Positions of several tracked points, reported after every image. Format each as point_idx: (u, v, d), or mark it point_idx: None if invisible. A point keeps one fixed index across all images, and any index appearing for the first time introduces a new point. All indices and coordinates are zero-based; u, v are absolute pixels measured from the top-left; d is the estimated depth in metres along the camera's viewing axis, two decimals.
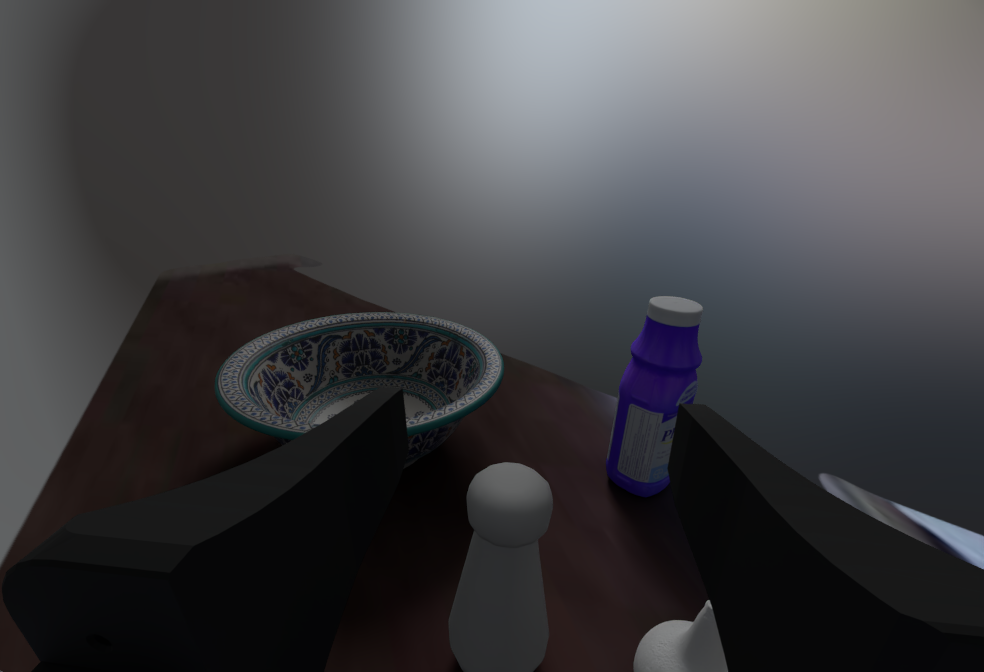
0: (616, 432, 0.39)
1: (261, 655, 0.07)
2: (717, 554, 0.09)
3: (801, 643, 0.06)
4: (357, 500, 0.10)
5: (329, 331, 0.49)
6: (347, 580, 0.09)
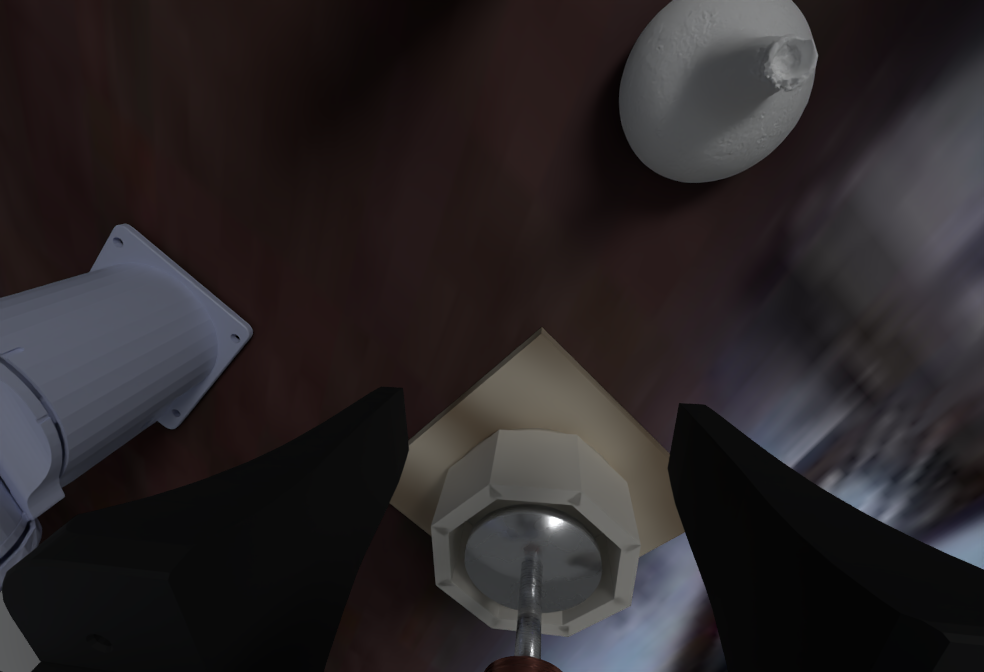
0: None
1: (261, 655, 0.07)
2: (717, 554, 0.09)
3: (801, 643, 0.06)
4: (357, 500, 0.10)
5: None
6: (347, 580, 0.09)
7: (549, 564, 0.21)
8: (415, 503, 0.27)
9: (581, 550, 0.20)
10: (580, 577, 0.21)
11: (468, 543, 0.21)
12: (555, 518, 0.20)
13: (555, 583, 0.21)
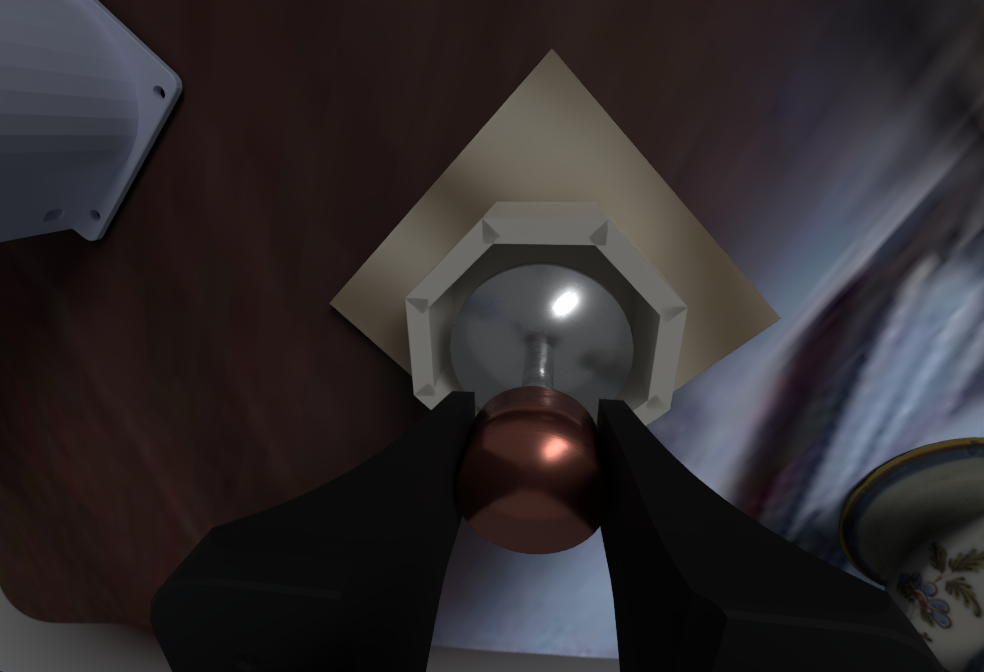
0: None
1: None
2: (616, 545, 0.09)
3: (651, 626, 0.06)
4: (445, 507, 0.09)
5: None
6: (437, 590, 0.09)
7: (562, 349, 0.16)
8: (392, 329, 0.21)
9: (606, 322, 0.15)
10: (603, 368, 0.16)
11: (455, 323, 0.16)
12: (571, 271, 0.15)
13: (570, 380, 0.16)
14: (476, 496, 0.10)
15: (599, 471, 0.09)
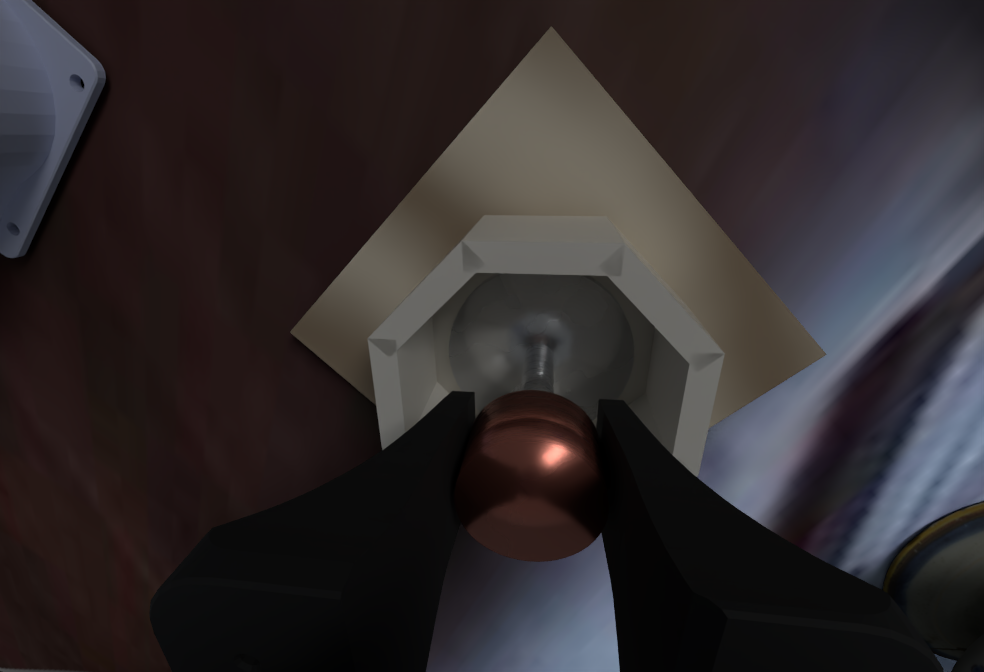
0: None
1: None
2: (616, 545, 0.09)
3: (651, 626, 0.06)
4: (445, 507, 0.09)
5: None
6: (437, 590, 0.09)
7: (562, 351, 0.16)
8: (364, 362, 0.18)
9: (606, 324, 0.15)
10: (604, 370, 0.16)
11: (453, 325, 0.16)
12: None
13: (570, 383, 0.16)
14: (474, 503, 0.10)
15: (600, 478, 0.09)
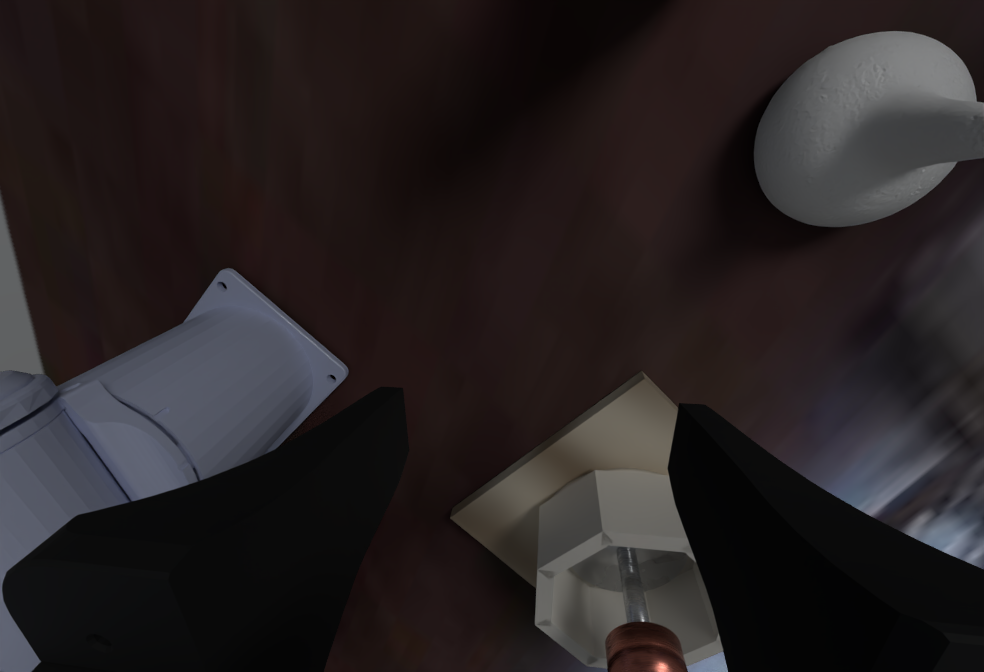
0: None
1: (261, 655, 0.07)
2: (717, 554, 0.09)
3: (801, 643, 0.06)
4: (357, 500, 0.10)
5: None
6: (347, 581, 0.09)
7: (641, 549, 0.24)
8: (499, 537, 0.27)
9: None
10: (668, 560, 0.24)
11: None
12: None
13: (645, 566, 0.25)
14: None
15: None
